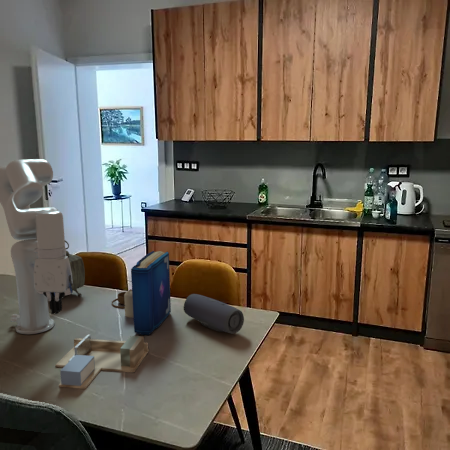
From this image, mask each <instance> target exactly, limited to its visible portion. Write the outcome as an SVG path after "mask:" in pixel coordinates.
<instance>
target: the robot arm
mask: <svg viewBox="0 0 450 450" xmlns="http://www.w3.org/2000/svg"><path fill="white" fill-rule="evenodd" d="M53 178H54V171H53V167H52V165H51V164H50V162H49V161H48V160H46V159H44V158H43V159H42V158H33V159H30V158H29V159H27V158H24V159H14V160H12V161H10V162H8V164H7V165H2V166H0V204H1V206H2V208H3V211H4V216H5V219H6V223H7V227H8V230H9V233H10V236H11V237H12V238H13V239H14V240H17V241H16V242H15V243H13V244H12V245H11V248H10V257H11V261H12V264H13V268H14V274H15V281H16V283H15V284H16V291H17V302H18V313H19V314H17V313H12V314H11V316H10V322H13V323H15V322H16V323H17V324H16V325H15V331H16V332H17V334H21V335H34V334H40V333H43V332H46V331H49V330H52V328H53V327H54V326H55V320H54V319H52V318H51V317H50V314H51V315H57V314H59V313H60V312H61V311H62V309H63V303H62V302H63V301H62V300H63V297H64V298H65V296H68V295H71V294H73V292H74V290H73V291H72V285H73V280H72V272H71V266H70V262H69V259H68V256H66V251H67V249H66V248H67V247H66V242H65V241H66V239H65V225H64V215H63V213H62V212H61V211H59V209H57V208H56V207H53V206H46V207H32V208H31V206H30V205H33V204H34V203H36V202H37V201H38V200H40V199H41V198H42V195H43V193H44V188H43V187H45V186H47V185H49V184H50V183H52V181H53ZM49 310H50V311H49Z"/></svg>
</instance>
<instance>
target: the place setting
mask: <svg viewBox="0 0 450 450" xmlns="http://www.w3.org/2000/svg"><path fill="white" fill-rule="evenodd" d="M126 292H127V291H122V292H119V293H118V294H117V298H115V299H113V300H112V301H111V306H112V307H114V308H117V309H125V301H124V294H125V293H126ZM116 301H117V302H118V303H119V304H120V305H123V306H119V305H116V304H114V302H116Z"/></svg>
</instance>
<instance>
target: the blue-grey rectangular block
mask: <svg viewBox="0 0 450 450" xmlns="http://www.w3.org/2000/svg"><path fill="white" fill-rule="evenodd" d="M94 370H95V361H94V356H86V355H75V356H74V357H73V358H72V359H71V360H70V361H69V362H68V363H67V364H66V365H65V366H64V367H61V369H60V371H59V372H60V383H61V384H63V385H76V386H81V385H82V384H83V382H84V381H85V380H86V379H87V378H88V377H89V375H90V374H91V373H92V372H93V371H94Z"/></svg>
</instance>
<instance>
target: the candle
mask: <svg viewBox="0 0 450 450" xmlns="http://www.w3.org/2000/svg"><path fill="white" fill-rule="evenodd" d="M125 292H126V293H125V294H124V301H125V305H124V307H125V308H124V316H125V317H126V318H129V319H134V316H133V298H132V288H131V289H128V290H126V291H125Z"/></svg>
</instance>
